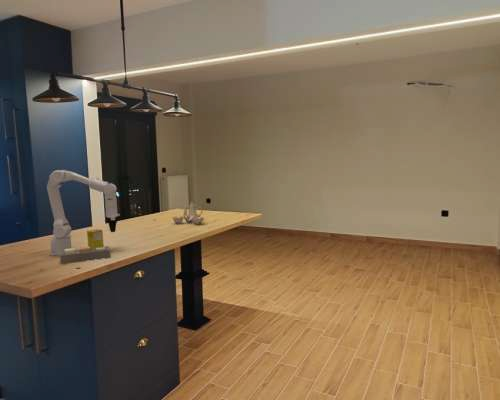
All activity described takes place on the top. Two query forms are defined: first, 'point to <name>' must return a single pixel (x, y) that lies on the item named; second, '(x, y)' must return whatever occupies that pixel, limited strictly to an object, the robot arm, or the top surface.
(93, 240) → the supplement box
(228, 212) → the top surface
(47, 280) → the top surface
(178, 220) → the chinaware
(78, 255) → the console
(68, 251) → the cream button
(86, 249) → the terracotta button
